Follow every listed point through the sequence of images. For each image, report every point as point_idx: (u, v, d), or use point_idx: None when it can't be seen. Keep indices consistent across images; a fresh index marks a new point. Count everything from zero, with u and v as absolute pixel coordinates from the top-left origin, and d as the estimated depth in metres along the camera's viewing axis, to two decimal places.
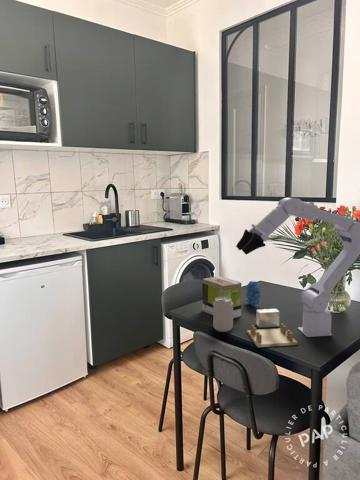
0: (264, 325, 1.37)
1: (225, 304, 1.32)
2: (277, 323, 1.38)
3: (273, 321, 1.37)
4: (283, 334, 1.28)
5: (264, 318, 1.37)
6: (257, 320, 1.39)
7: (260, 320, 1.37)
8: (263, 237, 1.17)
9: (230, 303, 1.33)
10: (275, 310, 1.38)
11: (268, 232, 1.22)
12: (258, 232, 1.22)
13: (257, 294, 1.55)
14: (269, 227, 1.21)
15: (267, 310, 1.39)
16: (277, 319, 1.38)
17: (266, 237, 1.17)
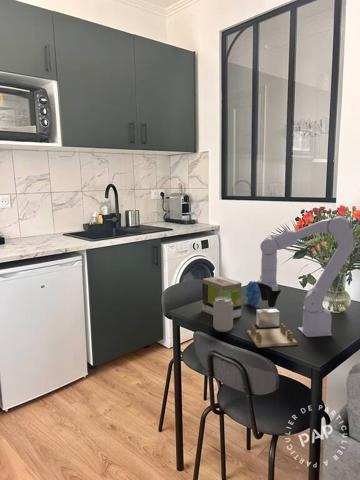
0: (264, 325, 1.37)
1: (225, 304, 1.32)
2: (277, 323, 1.38)
3: (273, 321, 1.37)
4: (283, 334, 1.28)
5: (264, 318, 1.37)
6: (257, 320, 1.39)
7: (260, 320, 1.37)
8: (274, 289, 1.30)
9: (230, 303, 1.33)
10: (275, 310, 1.38)
11: (273, 277, 1.34)
12: None
13: (257, 294, 1.55)
14: (271, 274, 1.33)
15: (267, 310, 1.39)
16: (277, 319, 1.38)
17: (276, 287, 1.30)
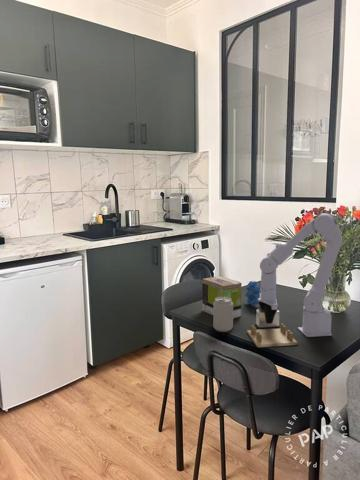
0: (264, 325, 1.37)
1: (225, 304, 1.32)
2: (277, 323, 1.38)
3: (273, 321, 1.37)
4: (283, 334, 1.28)
5: (264, 318, 1.37)
6: (257, 320, 1.39)
7: (260, 320, 1.37)
8: (273, 308, 1.31)
9: (230, 303, 1.33)
10: None
11: (273, 296, 1.35)
12: None
13: (257, 294, 1.55)
14: (270, 293, 1.34)
15: None
16: (277, 319, 1.38)
17: (275, 306, 1.31)
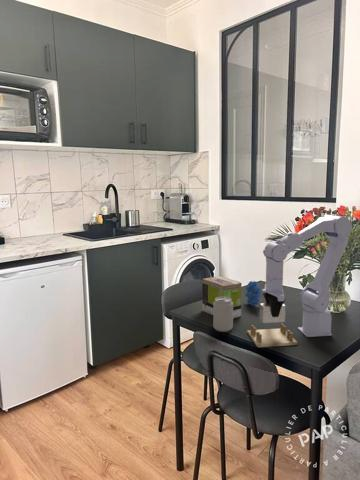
0: (268, 320, 1.24)
1: (225, 304, 1.32)
2: (283, 318, 1.25)
3: (279, 316, 1.24)
4: (283, 334, 1.28)
5: (269, 312, 1.24)
6: (261, 315, 1.26)
7: (264, 315, 1.24)
8: (280, 300, 1.18)
9: (230, 303, 1.33)
10: None
11: (279, 286, 1.22)
12: None
13: (257, 294, 1.55)
14: (276, 283, 1.21)
15: None
16: (283, 314, 1.25)
17: (282, 297, 1.18)
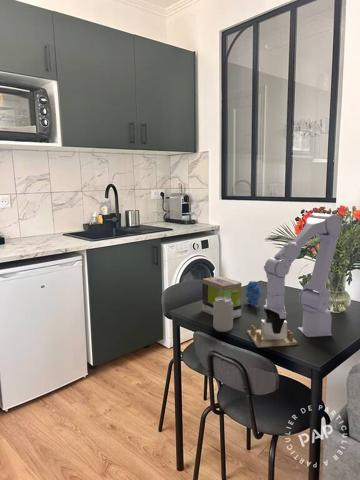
0: (270, 337, 1.22)
1: (225, 304, 1.32)
2: (284, 335, 1.22)
3: (280, 332, 1.22)
4: None
5: (270, 329, 1.21)
6: (262, 331, 1.23)
7: (265, 331, 1.21)
8: (282, 317, 1.15)
9: (230, 303, 1.33)
10: None
11: (281, 303, 1.19)
12: None
13: (257, 294, 1.55)
14: (278, 299, 1.19)
15: None
16: (284, 330, 1.22)
17: (284, 315, 1.15)
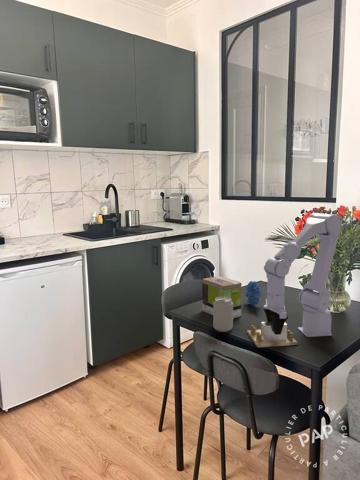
0: (270, 339, 1.22)
1: (225, 304, 1.32)
2: (284, 337, 1.23)
3: (280, 335, 1.22)
4: None
5: (270, 331, 1.22)
6: (262, 334, 1.24)
7: (265, 334, 1.22)
8: (282, 317, 1.15)
9: (230, 303, 1.33)
10: None
11: (281, 303, 1.19)
12: None
13: (257, 294, 1.55)
14: (278, 299, 1.19)
15: None
16: (284, 333, 1.22)
17: (284, 315, 1.15)
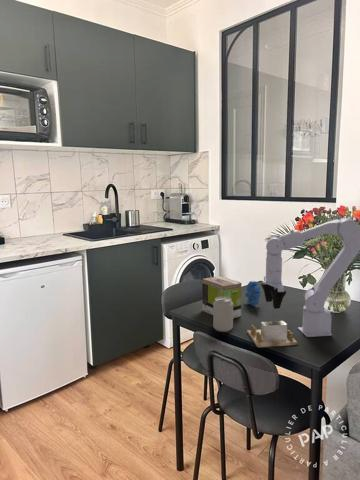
0: (270, 339, 1.22)
1: (225, 304, 1.32)
2: (284, 337, 1.23)
3: (280, 335, 1.22)
4: None
5: (270, 331, 1.22)
6: (262, 334, 1.24)
7: (265, 334, 1.22)
8: (279, 290, 1.26)
9: (230, 303, 1.33)
10: (282, 323, 1.23)
11: (279, 278, 1.31)
12: None
13: (257, 294, 1.55)
14: (276, 275, 1.30)
15: (273, 322, 1.24)
16: (284, 333, 1.22)
17: (281, 288, 1.26)
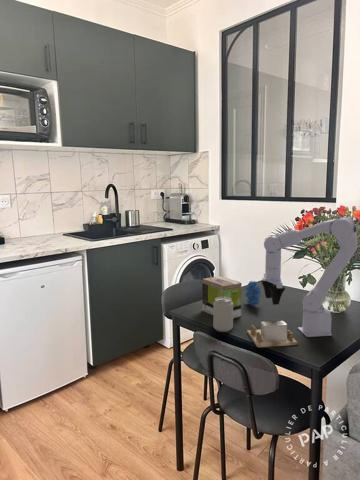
0: (270, 339, 1.22)
1: (225, 304, 1.32)
2: (284, 337, 1.23)
3: (280, 335, 1.22)
4: None
5: (270, 331, 1.22)
6: (262, 334, 1.24)
7: (265, 334, 1.22)
8: (278, 287, 1.31)
9: (230, 303, 1.33)
10: (282, 323, 1.23)
11: (278, 275, 1.35)
12: None
13: (257, 294, 1.55)
14: (275, 272, 1.34)
15: (273, 322, 1.24)
16: (284, 333, 1.22)
17: (280, 285, 1.31)
